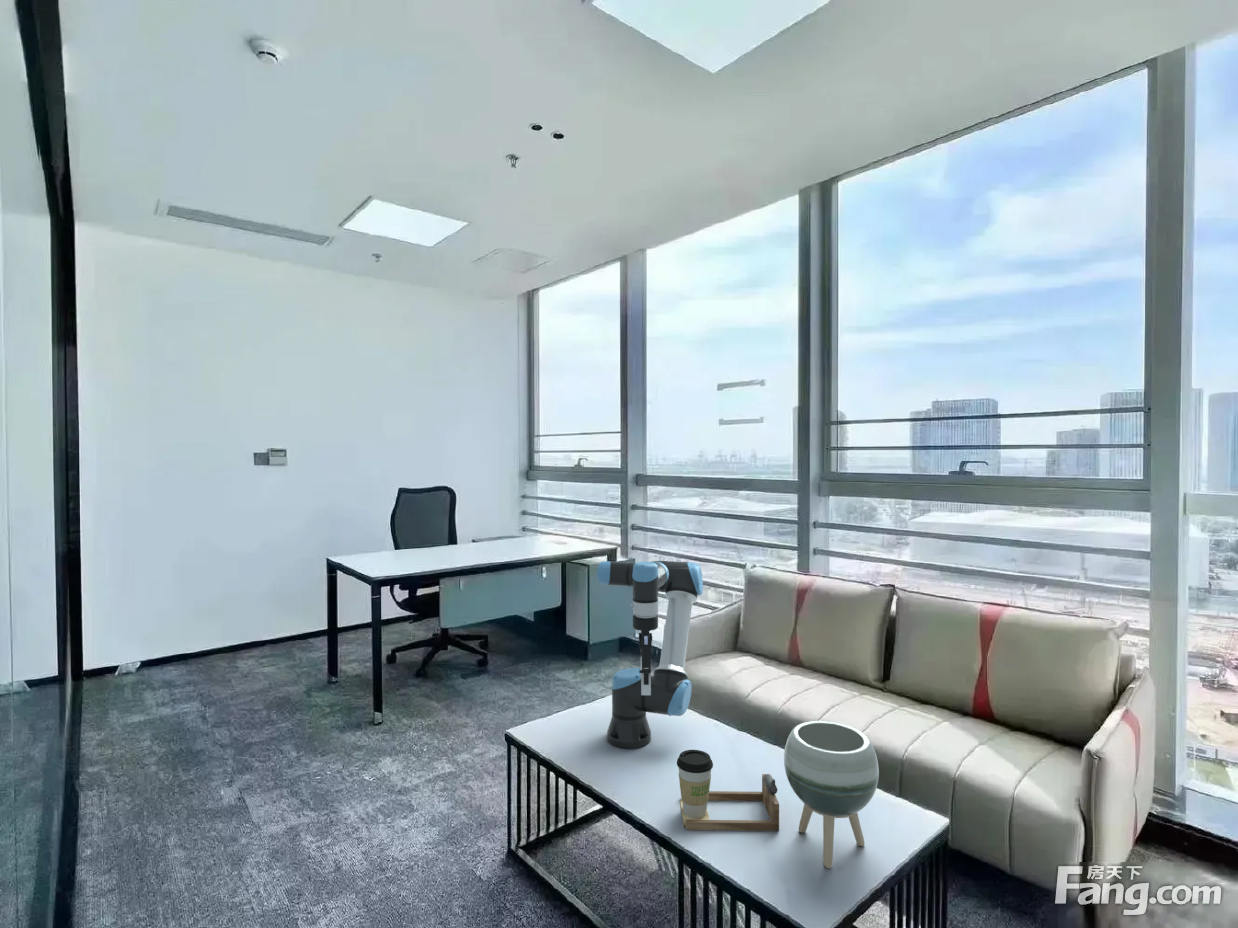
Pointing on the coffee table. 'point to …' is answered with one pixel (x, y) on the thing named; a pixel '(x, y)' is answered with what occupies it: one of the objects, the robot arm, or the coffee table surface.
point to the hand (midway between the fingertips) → (645, 685)
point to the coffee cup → (694, 781)
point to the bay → (740, 825)
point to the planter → (831, 775)
